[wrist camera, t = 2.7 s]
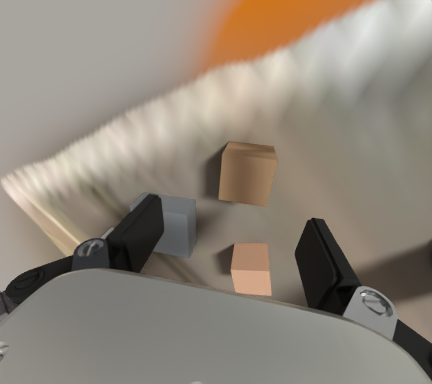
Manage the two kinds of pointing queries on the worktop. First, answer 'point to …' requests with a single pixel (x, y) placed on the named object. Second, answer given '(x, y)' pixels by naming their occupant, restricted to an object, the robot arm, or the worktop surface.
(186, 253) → the base block
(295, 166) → the worktop surface
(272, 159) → the walnut cube
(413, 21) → the worktop surface
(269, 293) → the terracotta cube
